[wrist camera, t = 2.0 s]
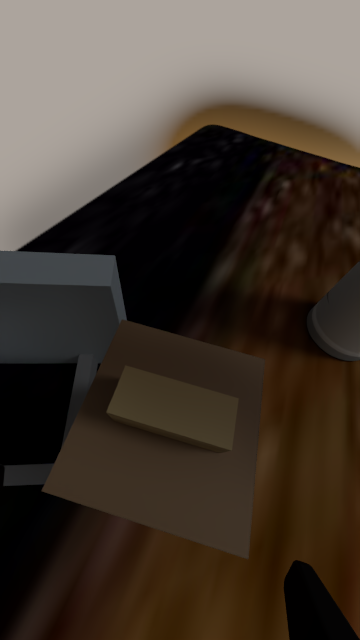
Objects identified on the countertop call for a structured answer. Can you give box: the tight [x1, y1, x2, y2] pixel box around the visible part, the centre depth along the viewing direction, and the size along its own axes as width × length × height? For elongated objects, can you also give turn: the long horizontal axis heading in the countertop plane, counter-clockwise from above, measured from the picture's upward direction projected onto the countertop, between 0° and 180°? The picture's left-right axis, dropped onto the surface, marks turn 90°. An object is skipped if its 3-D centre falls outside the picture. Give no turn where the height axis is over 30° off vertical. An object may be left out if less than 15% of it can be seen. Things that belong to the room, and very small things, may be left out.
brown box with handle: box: [42, 319, 265, 559], centre depth 12 cm, size 5×5×13 cm
